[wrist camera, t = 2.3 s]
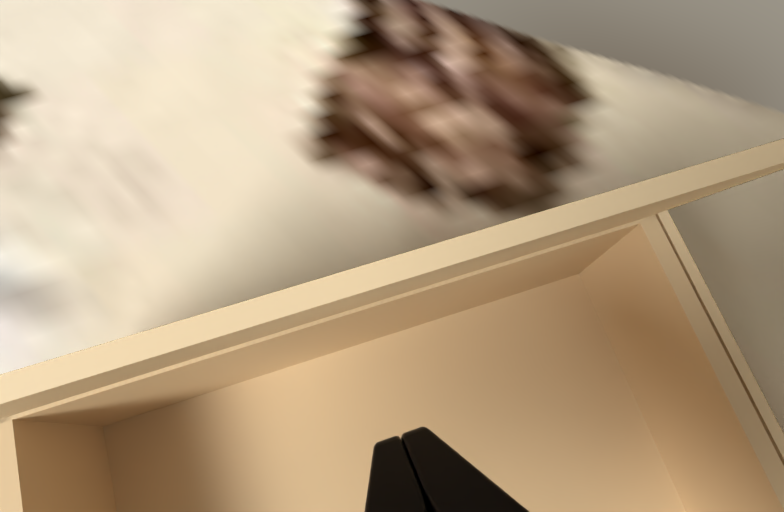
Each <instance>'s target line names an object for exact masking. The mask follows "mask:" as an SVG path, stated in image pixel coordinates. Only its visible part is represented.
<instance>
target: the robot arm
mask: <svg viewBox="0 0 784 512" xmlns="http://www.w3.org/2000/svg"><path fill="white" fill-rule="evenodd" d="M364 512H529V511H528V510H527V509H526V508H524V507H523V506H522V505H521V504H520V503H518V502H517V501H516V500H515V499H513V498H512V497H511V496H510V495H509V494H507V493H506V492H505V491H504V490H503V489H501V488H500V487H499V486H498V485H496V484H495V483H494V482H493V481H492V480H490V479H489V478H488V477H487V476H486V475H484V474H483V473H482V472H481V471H479V470H478V469H477V468H476V467H475V466H473V465H472V464H471V463H470V462H469V461H467V460H466V459H465V458H464V457H462V456H461V455H460V454H459V453H458V452H456V451H455V450H454V449H453V448H451V447H450V446H449V445H448V444H447V443H445V442H444V441H443V440H442V439H441V438H439V437H438V436H437V435H436V434H434V433H433V432H432V431H431V430H430V429H428V428H427V427H419V428H416V429H413V430H411V431H408V432H405V433H403V434H402V436H401V438H400V437H399V436H393V437H390V438H388V439H385V440H382V441H379V442H377V443H376V444H375V445H374V448H373V455H372V462H371V469H370V476H369V483H368V490H367V497H366V504H365V511H364Z"/></svg>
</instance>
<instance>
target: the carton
mask: <svg viewBox="0 0 784 512" xmlns="http://www.w3.org/2000/svg"><path fill="white" fill-rule="evenodd" d="M419 427H427V428H428V429H430V430H431V431H432V432H433V433H434V434H436V435H437V436H438V437H439V438H441V439H442V440H443V441H444V442H445V443H447V444H448V445H449V446H450V447H451V448H453V449H454V450H455V451H456V452H458V453H459V454H460V455H461V456H462V457H464V458H465V459H466V460H467V461H469V462H470V463H471V464H472V465H473V466H475V467H476V468H477V469H478V470H479V471H481V472H482V473H483V474H484V475H486V476H487V477H488V478H489V479H490V480H492V481H493V482H494V483H495V484H496V485H498V486H499V487H500V488H501V489H503V490H504V491H505V492H506V493H507V494H509V495H510V496H511V497H512V498H513V499H515V500H516V501H517V502H518V503H520V504H521V505H522V506H523V507H524V508H526V509H527V510H528V511H529V512H784V433H783V431H782V429H781V427H780V425H779V424H778V422H777V420H776V418H775V416H774V414H773V412H772V410H771V408H770V406H769V404H768V402H767V400H766V399H765V397H764V395H763V393H762V391H761V389H760V387H759V385H758V383H757V381H756V379H755V377H754V375H753V374H752V372H751V370H750V368H749V366H748V364H747V362H746V360H745V358H744V356H743V354H742V352H741V350H740V349H739V347H738V345H737V343H736V341H735V339H734V337H733V335H732V333H731V331H730V329H729V327H728V325H727V324H726V322H725V320H724V318H723V316H722V314H721V312H720V310H719V308H718V306H717V304H716V302H715V300H714V299H713V297H712V295H711V293H710V291H709V289H708V287H707V285H706V283H705V281H704V279H703V277H702V275H701V274H700V272H699V270H698V268H697V266H696V264H695V262H694V260H693V258H692V256H691V254H690V252H689V250H688V249H687V247H686V245H685V243H684V241H683V239H682V237H681V235H680V233H679V231H678V229H677V227H676V225H675V224H674V222H673V220H672V218H671V216H670V214H669V212H668V210H666V211H663V212H660V213H658V214H655V215H652V216H649V217H646V218H643V219H640V220H637V221H634V222H631V223H627V224H624V225H621V226H618V227H614V228H611V229H608V230H605V231H602V232H598V233H595V234H592V235H589V236H586V237H582V238H579V239H576V240H573V241H570V242H566V243H563V244H560V245H557V246H554V247H550V248H547V249H544V250H541V251H537V252H534V253H531V254H528V255H525V256H521V257H518V258H515V259H512V260H509V261H505V262H502V263H499V264H496V265H493V266H489V267H486V268H483V269H480V270H477V271H473V272H470V273H467V274H464V275H460V276H457V277H454V278H451V279H448V280H444V281H441V282H438V283H435V284H432V285H428V286H425V287H422V288H419V289H416V290H412V291H409V292H406V293H403V294H400V295H396V296H393V297H390V298H387V299H383V300H380V301H377V302H374V303H371V304H367V305H364V306H361V307H358V308H355V309H351V310H348V311H345V312H342V313H339V314H335V315H332V316H329V317H326V318H323V319H319V320H316V321H313V322H310V323H306V324H303V325H300V326H297V327H294V328H290V329H287V330H284V331H281V332H278V333H274V334H271V335H268V336H265V337H262V338H258V339H255V340H252V341H249V342H246V343H242V344H239V345H236V346H233V347H229V348H226V349H223V350H220V351H217V352H213V353H210V354H207V355H204V356H201V357H197V358H194V359H191V360H188V361H185V362H181V363H178V364H175V365H172V366H169V367H165V368H162V369H159V370H156V371H152V372H149V373H146V374H143V375H140V376H136V377H133V378H130V379H127V380H124V381H120V382H117V383H114V384H111V385H108V386H104V387H101V388H98V389H95V390H92V391H88V392H85V393H82V394H79V395H75V396H72V397H69V398H66V399H63V400H59V401H56V402H53V403H50V404H47V405H43V406H40V407H37V408H34V409H31V410H27V411H24V412H21V413H18V414H15V415H11V416H8V417H5V418H1V419H0V512H364V511H365V504H366V497H367V490H368V483H369V476H370V469H371V462H372V455H373V448H374V445H375V444H376V443H377V442H379V441H382V440H385V439H388V438H390V437H393V436H399V437H400V438H401V436H402V434H403V433H405V432H408V431H411V430H413V429H416V428H419Z"/></svg>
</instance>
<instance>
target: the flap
mask: <svg viewBox="0 0 784 512" xmlns="http://www.w3.org/2000/svg"><path fill="white" fill-rule="evenodd" d="M782 169H784V139H780V140H777V141H774V142H770V143H767V144H764V145H760V146H757V147H754V148H750V149H747V150H744V151H741V152H737V153H734V154H731V155H727V156H724V157H721V158H717V159H714V160H711V161H707V162H704V163H701V164H697V165H694V166H691V167H687V168H684V169H681V170H677V171H674V172H671V173H668V174H664V175H661V176H658V177H654V178H651V179H648V180H644V181H641V182H638V183H634V184H631V185H628V186H624V187H621V188H618V189H614V190H611V191H608V192H605V193H601V194H598V195H595V196H591V197H588V198H585V199H581V200H578V201H575V202H571V203H568V204H565V205H561V206H558V207H555V208H551V209H548V210H545V211H541V212H538V213H535V214H532V215H528V216H525V217H522V218H518V219H515V220H512V221H508V222H505V223H502V224H498V225H495V226H492V227H488V228H485V229H482V230H478V231H475V232H472V233H469V234H465V235H462V236H459V237H455V238H452V239H449V240H445V241H442V242H439V243H435V244H432V245H429V246H425V247H422V248H419V249H415V250H412V251H409V252H406V253H402V254H399V255H396V256H392V257H389V258H386V259H382V260H379V261H376V262H372V263H369V264H366V265H362V266H359V267H356V268H352V269H349V270H346V271H342V272H339V273H336V274H333V275H329V276H326V277H323V278H319V279H316V280H313V281H309V282H306V283H303V284H299V285H296V286H293V287H289V288H286V289H283V290H279V291H276V292H273V293H270V294H266V295H263V296H260V297H256V298H253V299H250V300H246V301H243V302H240V303H236V304H233V305H230V306H226V307H223V308H220V309H216V310H213V311H210V312H206V313H203V314H200V315H197V316H193V317H190V318H187V319H183V320H180V321H177V322H173V323H170V324H167V325H163V326H160V327H157V328H153V329H150V330H147V331H143V332H140V333H137V334H134V335H130V336H127V337H124V338H120V339H117V340H114V341H110V342H107V343H104V344H100V345H97V346H94V347H90V348H87V349H84V350H80V351H77V352H74V353H70V354H67V355H64V356H61V357H57V358H54V359H51V360H47V361H44V362H41V363H37V364H34V365H31V366H27V367H24V368H21V369H17V370H14V371H11V372H7V373H4V374H1V375H0V419H1V418H5V417H8V416H11V415H15V414H18V413H21V412H24V411H27V410H31V409H34V408H37V407H40V406H43V405H47V404H50V403H53V402H56V401H59V400H63V399H66V398H69V397H72V396H75V395H79V394H82V393H85V392H88V391H92V390H95V389H98V388H101V387H104V386H108V385H111V384H114V383H117V382H120V381H124V380H127V379H130V378H133V377H136V376H140V375H143V374H146V373H149V372H152V371H156V370H159V369H162V368H165V367H169V366H172V365H175V364H178V363H181V362H185V361H188V360H191V359H194V358H197V357H201V356H204V355H207V354H210V353H213V352H217V351H220V350H223V349H226V348H229V347H233V346H236V345H239V344H242V343H246V342H249V341H252V340H255V339H258V338H262V337H265V336H268V335H271V334H274V333H278V332H281V331H284V330H287V329H290V328H294V327H297V326H300V325H303V324H306V323H310V322H313V321H316V320H319V319H323V318H326V317H329V316H332V315H335V314H339V313H342V312H345V311H348V310H351V309H355V308H358V307H361V306H364V305H367V304H371V303H374V302H377V301H380V300H383V299H387V298H390V297H393V296H396V295H400V294H403V293H406V292H409V291H412V290H416V289H419V288H422V287H425V286H428V285H432V284H435V283H438V282H441V281H444V280H448V279H451V278H454V277H457V276H460V275H464V274H467V273H470V272H473V271H477V270H480V269H483V268H486V267H489V266H493V265H496V264H499V263H502V262H505V261H509V260H512V259H515V258H518V257H521V256H525V255H528V254H531V253H534V252H537V251H541V250H544V249H547V248H550V247H554V246H557V245H560V244H563V243H566V242H570V241H573V240H576V239H579V238H582V237H586V236H589V235H592V234H595V233H598V232H602V231H605V230H608V229H611V228H614V227H618V226H621V225H624V224H627V223H631V222H634V221H637V220H640V219H643V218H646V217H649V216H652V215H655V214H658V213H660V212H663V211H666V210H669V209H672V208H675V207H677V206H680V205H683V204H686V203H689V202H692V201H695V200H697V199H700V198H703V197H706V196H709V195H712V194H714V193H717V192H720V191H723V190H726V189H729V188H731V187H734V186H737V185H740V184H743V183H746V182H748V181H751V180H754V179H757V178H760V177H763V176H765V175H768V174H771V173H774V172H777V171H780V170H782Z"/></svg>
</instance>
